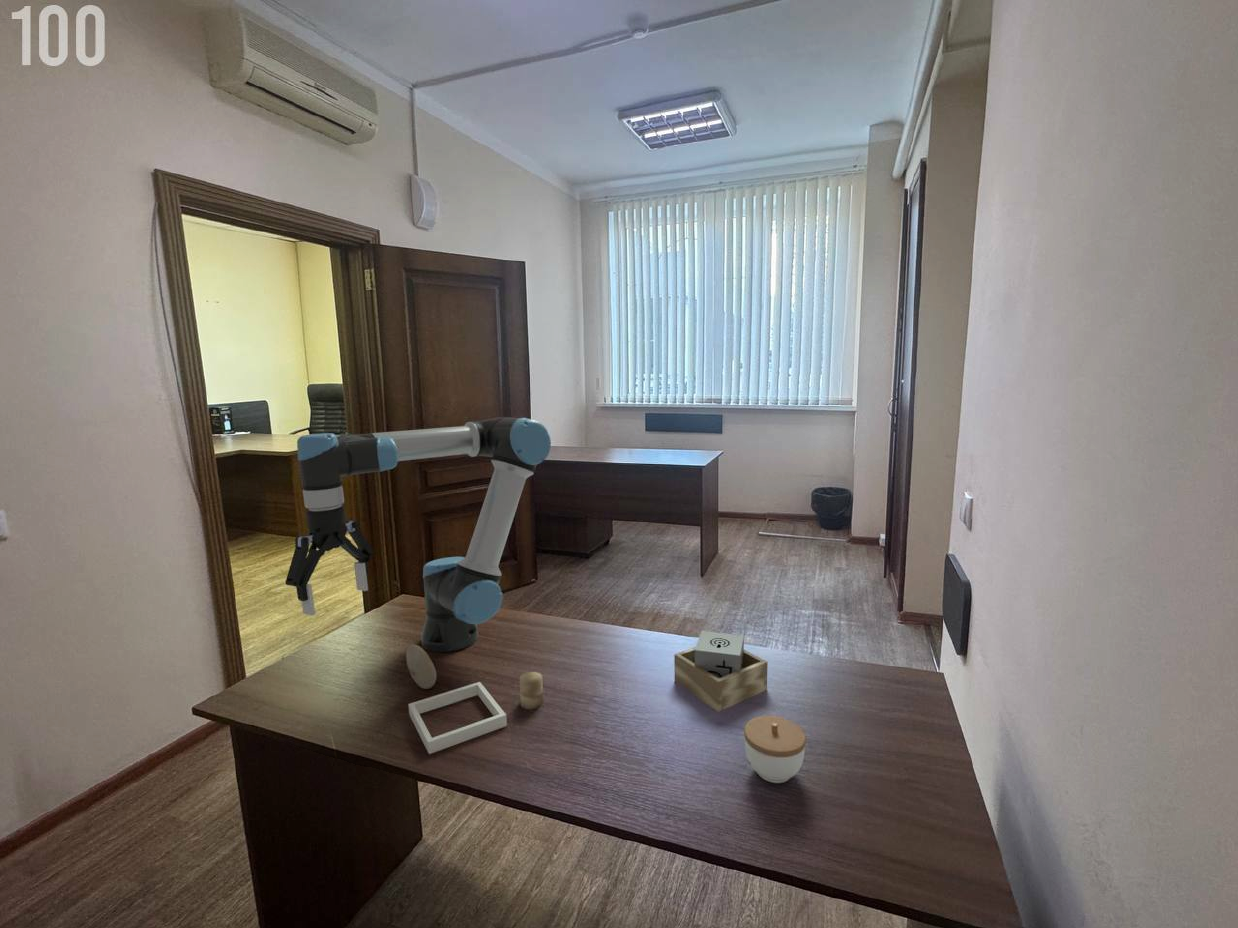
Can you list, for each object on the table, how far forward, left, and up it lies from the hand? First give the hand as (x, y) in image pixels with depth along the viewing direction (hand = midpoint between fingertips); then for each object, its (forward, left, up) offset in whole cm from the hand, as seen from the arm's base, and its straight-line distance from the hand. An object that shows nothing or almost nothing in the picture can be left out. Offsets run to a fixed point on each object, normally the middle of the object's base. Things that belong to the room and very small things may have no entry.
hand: (337, 601), depth 124 cm
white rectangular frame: (-19, +20, -24) cm, 37 cm away
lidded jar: (-62, +69, -25) cm, 96 cm away
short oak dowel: (-35, +23, -25) cm, 48 cm away
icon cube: (-74, +42, -24) cm, 88 cm away
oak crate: (-74, +42, -24) cm, 88 cm away
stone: (-16, +4, -25) cm, 29 cm away
